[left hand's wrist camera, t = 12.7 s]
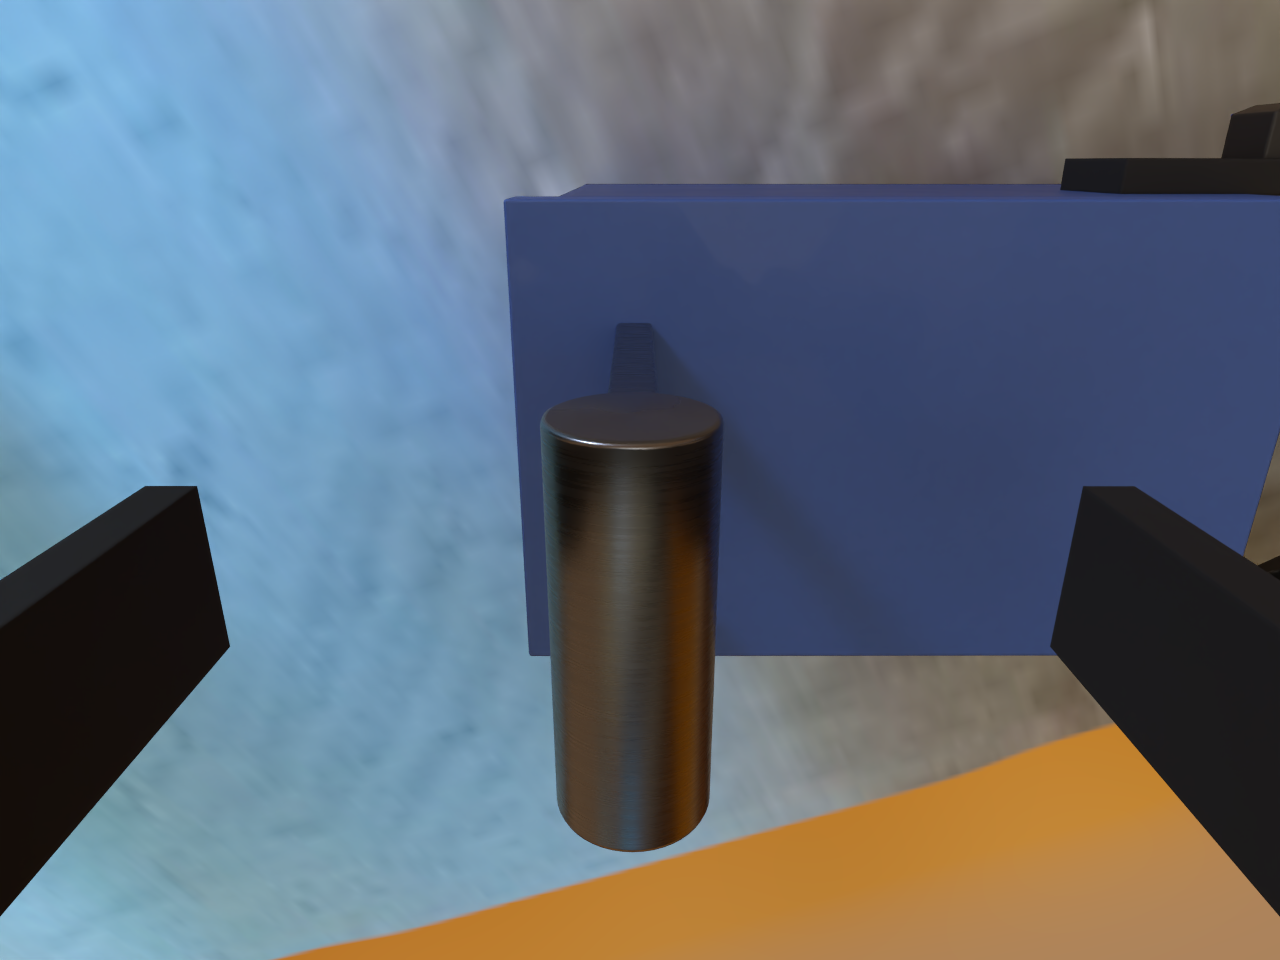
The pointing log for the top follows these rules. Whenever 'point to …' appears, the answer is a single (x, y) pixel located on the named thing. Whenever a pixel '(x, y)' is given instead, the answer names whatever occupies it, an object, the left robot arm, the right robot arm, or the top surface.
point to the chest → (851, 191)
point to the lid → (850, 437)
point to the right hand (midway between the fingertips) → (1049, 400)
